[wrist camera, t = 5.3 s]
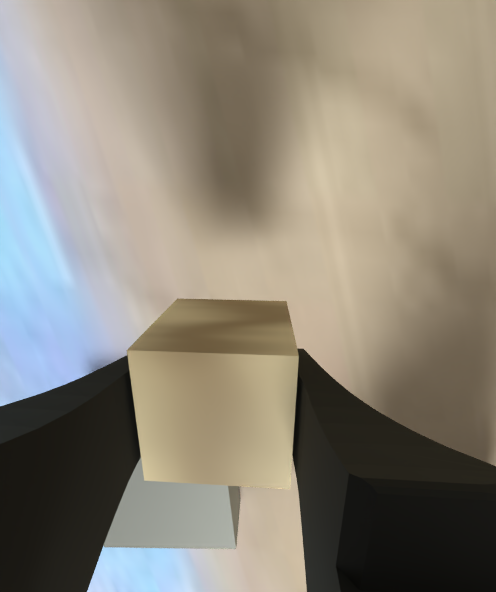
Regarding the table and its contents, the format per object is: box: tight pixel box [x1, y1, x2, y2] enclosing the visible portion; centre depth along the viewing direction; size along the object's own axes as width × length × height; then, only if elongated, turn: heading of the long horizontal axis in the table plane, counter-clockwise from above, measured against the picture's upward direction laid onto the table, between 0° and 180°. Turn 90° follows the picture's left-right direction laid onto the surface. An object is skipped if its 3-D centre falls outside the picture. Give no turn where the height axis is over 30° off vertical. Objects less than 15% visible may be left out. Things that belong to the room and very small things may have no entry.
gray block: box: [104, 458, 240, 549], centre depth 21 cm, size 10×10×4 cm
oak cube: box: [127, 299, 299, 489], centre depth 10 cm, size 4×4×4 cm
